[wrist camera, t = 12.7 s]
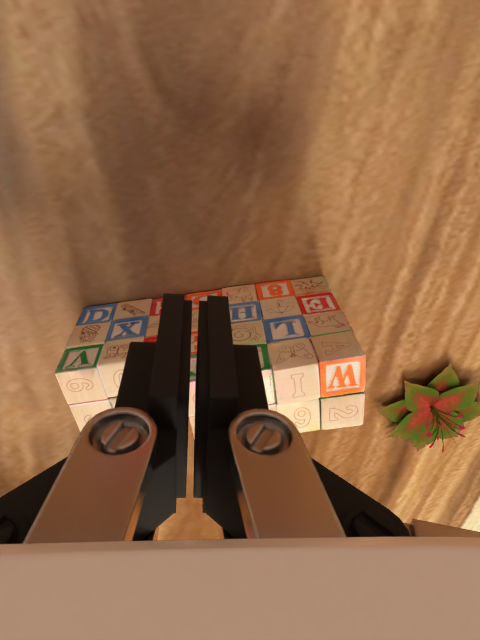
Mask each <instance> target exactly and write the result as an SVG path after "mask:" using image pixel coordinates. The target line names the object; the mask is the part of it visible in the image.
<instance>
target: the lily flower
mask: <svg viewBox="0 0 480 640" xmlns="http://www.w3.org/2000/svg"><path fill="white" fill-rule="evenodd" d="M404 383H405V391H406V393H405V399H403V400H401V401H398V402H396V403H393V404H391V405H388V406H386V407H384V408H382V409H378V410H375V411H377V412H379V413H381V414H382V415H385V417H386V418H387V419H389V420H390V421H393V422H398V423H399V425H398V426H397V427H396V428H395V429H394V431H393V432H392V433H391V435H389V436H388V437H386V438H390V437H392V438H398V437H400V438H402V439H411V442H412V443H413V445H414V446H415V447H417V448H416V449H417V452H418V451H419V450H420V449H422V448H423V447H425V445H428V444H430V443H432V442H433V441H434V442H435V440H436V438H437V439H438V438H441V439H442V441H443V439H447V438H452V437H453V436H454V437H458V435H460V436H463V437H465V436H464V435H462V434H460V431H462V430H463V429H465V427H464V425H463V422H466V421H470V420H472V419H474V418H476V417H478V416H479V415H480V404H479V403H478V402H476V401H474V400H475V398H476V396H477V393H478V390H479V384H480V381H478V382H475V383H472V384H468V385H465V386H462V387H459V379H458V376H457V374H456V373H455V371H454V370H453V369H452V363H451V364H450V365H449V366H448V367H447V368H446V369H444V370H443V372H442V373H440V374H439V375H438V376H436V377H435V378H434V379H433V380H432V381H431V382H430V383H429V384H428V385H427V386H426V387H425V386H421V385H418V384H412V383H409V382H407V381H405V380H404ZM434 442H433V443H432V444H431V446H429V447H430V448H431V447H432V446H433V445H434ZM454 442H455V441H454ZM443 450H444V446H443ZM443 450H442V452H443Z"/></svg>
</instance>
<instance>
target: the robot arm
mask: <svg viewBox="0 0 480 640" xmlns="http://www.w3.org/2000/svg"><path fill="white" fill-rule="evenodd" d="M184 297H185V296H184V295H183V294H163V300H162V307H161V314H160V320H159V327H158V334H157V340H156V342H130V345H129V349H128V353H127V357H126V361H125V366H124V370H123V374H122V378H121V382H120V386H119V391H118V395H117V399H116V403H115V407H114V408H112V409H107V410H105V411H103V412H100V413H98V414H96V415H95V416H94V417H92V418H91V419H90V420H88V422H87V423H86V424H85V426H84V427H83V429H82V430H81V432H80V434H79V436H78V438H77V440H76V442H75V444H74V446H73V448H72V450H71V452H70V453H69V455H68V457H66V458H65V459H63V460H61V461H60V462H58V463H56V464H55V465H53V466H52V467H50V468H48V469H47V470H45V471H43V472H42V473H40V474H38V475H37V476H35V477H33V478H32V479H30V480H29V481H27V482H25V483H24V484H22V485H20V486H19V487H17V488H15V489H14V490H12V491H10V492H9V493H7V494H5V495H4V496H2V497H1V498H0V640H480V532H476V531H471V530H466V529H461V528H456V527H451V526H446V525H441V524H436V523H431V522H426V521H421V520H416V519H413V520H412V522H411V524H407V523H403V522H402V521H401V520H400V518H398V517H397V516H396V515H395V514H394V513H392V512H391V511H390V510H389V509H387V508H386V507H384V506H383V505H381V504H380V503H378V502H377V501H375V500H374V499H372V498H371V497H369V496H368V495H366V494H365V493H363V492H362V491H360V490H359V489H357V488H356V487H354V486H353V485H351V484H350V483H348V482H347V481H345V480H344V479H342V478H341V477H339V476H338V475H336V474H335V473H333V472H331V471H330V470H328V469H327V468H325V467H324V466H322V465H321V464H319V463H318V462H316V461H315V460H313V459H312V458H311V457H310V455H309V453H308V451H307V448H306V446H305V444H304V442H303V440H302V437H301V435H300V433H299V431H298V429H297V427H296V426H295V424H294V423H293V422H292V421H291V420H290V419H289V418H287V417H286V416H285V415H283V414H281V413H278V412H276V411H273V410H269V408H268V402H267V397H266V391H265V386H264V381H263V375H262V370H261V365H260V359H259V354H258V349H257V346H256V345H237V344H233V337H232V328H231V319H230V310H229V300H228V296H208V295H207V301H199V313H198V336H197V359H196V382H195V434H194V498H203V513H206V514H207V515H209V516H210V517H211V518H212V519H213V520H214V521H215V522H217V523H218V524H219V538H220V539H209V540H159V541H157V539H158V530H159V525H160V524H162V523H163V522H164V521H165V520H166V519H167V518H169V517H170V516H171V515H172V514H173V513H176V498H186V476H187V448H188V419H189V390H190V360H191V329H192V300H184Z"/></svg>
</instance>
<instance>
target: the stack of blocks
mask: <svg viewBox="0 0 480 640" xmlns="http://www.w3.org/2000/svg"><path fill="white" fill-rule="evenodd" d="M207 295H208V296H228V300H229V310H230V319H231V328H232V337H233V344H237V345H256V346H257V349H258V354H259V359H260V365H261V370H262V375H263V381H264V386H265V391H266V397H267V402H268V408H269V410H273V411H276V412H278V413H281V414H283V415H285V416H286V417H287V418H289V419H290V420H291V421H292V422H293V423H294V424H295V426H296V427H297V429H298V431H299V433H300V432H307V431H314V430H319V429H320V428H321V429H323V430H327V429H334V428H342V427H350V426H358V425H362V424H363V414H364V398H365V394H364V392H363V391H364V389H365V369H366V356H365V354H364V352H363V350H362V348H361V346H360V345H359V343H358V341H357V339H356V337H355V335H354V334H353V330H352V328H351V326H350V325H349V322H348V321H347V319H346V317H345V315H344V313H343V312H342V311H341V309H340V307H339V305H338V303H337V301H336V300H335V298H334V296H333V294H332V293H331V290H330V288H329V286H328V284H327V282H326V280H325V279H324V277H322V276H319V277H312V278H304V279H296V280H281V281H274V282H267V283H259V284H251V285H243V286H235V287H227V288H222V289H221V290H214V291H208V292H199V293H192V294H188V295H184V296H185V297H184V300H192V329H191V360H190V390H189V421H190V424H191V428H192V433H193V437H194V434H195V382H196V359H197V336H198V313H199V301H207ZM162 300H163V298H158V299H154V300H153V299H143V300H136V301H127V302H121V303H114V304H106V305H100V306H92V307H86V308H84V309H83V311H82V313H81V315H80V317H79V319H78V321H77V323H76V327H75V328H74V329H73V331H72V333H71V335H70V338H69V340H68V342H67V344H66V347H65V348H66V350H65V351H64V353H63V355H62V358H61V360H60V362H59V365H58V367H57V369H56V371H55V375H56V378H57V380H58V382H59V385H60V387H61V389H62V392H63V394H64V397H65V399H66V401H67V404H69V405H70V409H71V411H72V413H73V416H74V418H75V420H76V422H77V425H78V427H79V430H80V432H81V430H82V429H83V427H84V426H85V424H86V423H87V422H88V420H90V419H91V418H92V417H94V416H95V415H96V414H98V413H100V412H103V411H105V410H107V409H112V408H114V407H115V403H116V399H117V395H118V391H119V386H120V382H121V378H122V374H123V370H124V366H125V361H126V357H127V353H128V349H129V345H130V342H156V340H157V334H158V327H159V320H160V314H161V307H162Z"/></svg>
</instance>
